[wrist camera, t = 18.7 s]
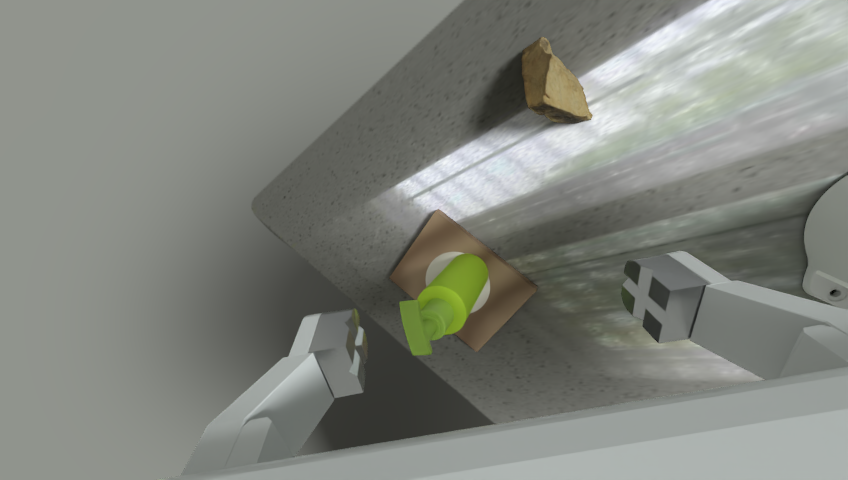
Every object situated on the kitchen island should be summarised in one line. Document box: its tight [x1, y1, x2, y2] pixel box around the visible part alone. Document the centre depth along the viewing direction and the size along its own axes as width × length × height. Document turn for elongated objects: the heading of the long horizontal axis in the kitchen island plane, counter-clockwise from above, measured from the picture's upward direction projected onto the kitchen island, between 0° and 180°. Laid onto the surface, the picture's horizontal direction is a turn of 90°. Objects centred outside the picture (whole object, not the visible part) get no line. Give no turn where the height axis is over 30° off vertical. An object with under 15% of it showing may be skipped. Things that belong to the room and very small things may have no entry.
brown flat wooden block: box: [389, 209, 537, 352], centre depth 50 cm, size 18×14×2 cm
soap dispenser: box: [399, 253, 488, 355], centre depth 40 cm, size 6×7×20 cm
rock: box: [521, 37, 592, 123], centre depth 37 cm, size 11×9×10 cm
